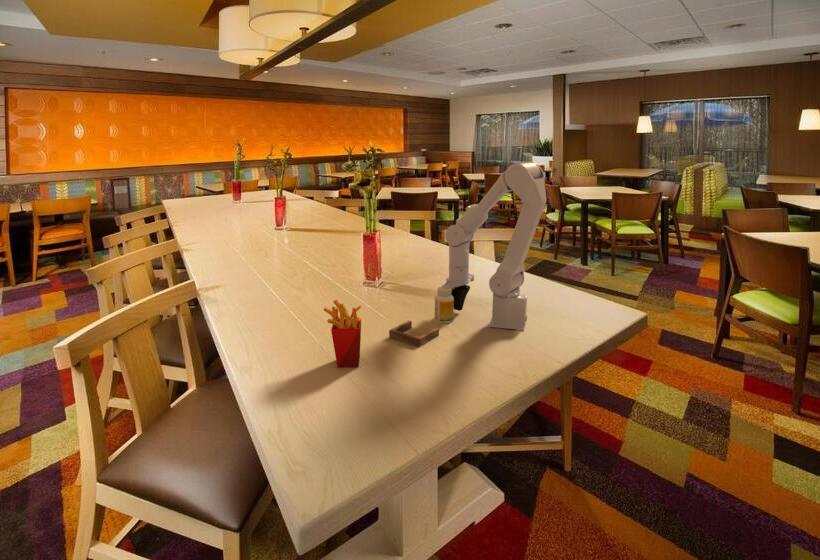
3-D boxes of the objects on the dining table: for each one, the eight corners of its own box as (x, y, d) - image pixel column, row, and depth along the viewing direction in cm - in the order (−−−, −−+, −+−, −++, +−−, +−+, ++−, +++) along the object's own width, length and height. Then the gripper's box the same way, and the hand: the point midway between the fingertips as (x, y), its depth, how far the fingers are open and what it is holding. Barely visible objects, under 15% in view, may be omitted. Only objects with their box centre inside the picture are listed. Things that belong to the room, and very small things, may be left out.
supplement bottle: (430, 320, 137) (430, 288, 135) (442, 315, 141) (442, 284, 138) (445, 325, 134) (445, 292, 131) (457, 320, 138) (457, 288, 135)
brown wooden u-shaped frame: (408, 327, 133) (408, 320, 132) (438, 335, 127) (438, 328, 126) (389, 337, 126) (389, 330, 126) (419, 346, 121) (419, 339, 120)
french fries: (364, 355, 116) (361, 297, 112) (362, 372, 108) (359, 309, 104) (327, 357, 116) (323, 298, 112) (322, 373, 108) (318, 310, 104)
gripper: (460, 258, 147) (459, 300, 151) (433, 268, 136) (433, 313, 140) (480, 261, 143) (479, 304, 147) (454, 272, 132) (453, 318, 136)
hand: (458, 309), depth 143 cm, fingers closed
